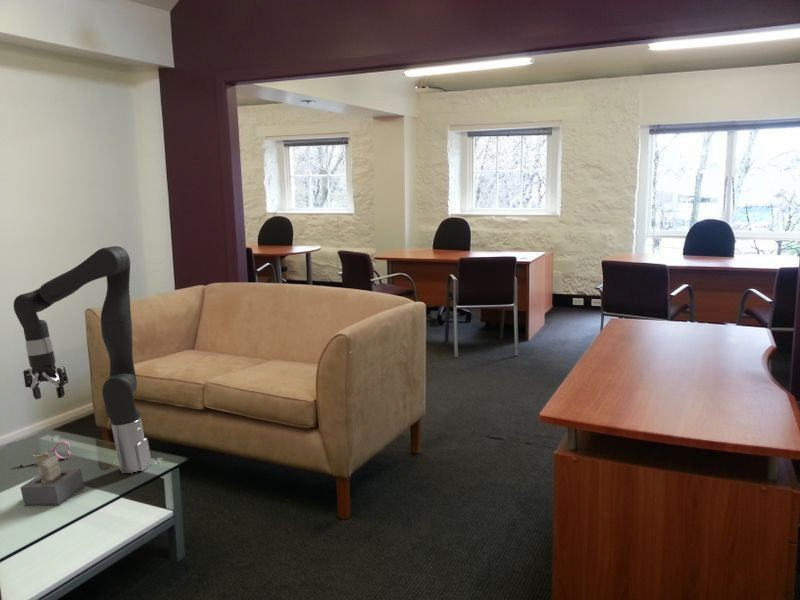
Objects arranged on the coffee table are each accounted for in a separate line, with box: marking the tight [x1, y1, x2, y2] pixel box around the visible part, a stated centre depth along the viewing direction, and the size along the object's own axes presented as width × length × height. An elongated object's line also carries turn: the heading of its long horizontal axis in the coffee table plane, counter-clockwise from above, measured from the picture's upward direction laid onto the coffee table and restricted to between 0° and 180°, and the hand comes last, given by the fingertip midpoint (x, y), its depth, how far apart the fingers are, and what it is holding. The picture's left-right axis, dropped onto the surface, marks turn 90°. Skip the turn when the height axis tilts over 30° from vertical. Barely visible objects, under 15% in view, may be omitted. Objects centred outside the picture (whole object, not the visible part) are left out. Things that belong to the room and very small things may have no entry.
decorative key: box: [32, 440, 72, 460], centre depth 231 cm, size 7×1×20 cm
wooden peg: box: [36, 455, 62, 483], centre depth 200 cm, size 4×4×12 cm
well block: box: [20, 468, 85, 507], centre depth 201 cm, size 12×12×6 cm
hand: (49, 398), depth 215 cm, fingers open, 8 cm apart
